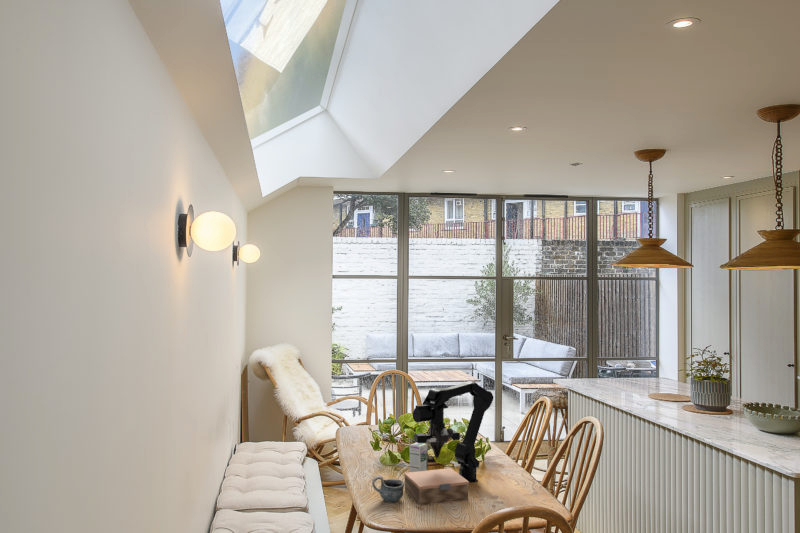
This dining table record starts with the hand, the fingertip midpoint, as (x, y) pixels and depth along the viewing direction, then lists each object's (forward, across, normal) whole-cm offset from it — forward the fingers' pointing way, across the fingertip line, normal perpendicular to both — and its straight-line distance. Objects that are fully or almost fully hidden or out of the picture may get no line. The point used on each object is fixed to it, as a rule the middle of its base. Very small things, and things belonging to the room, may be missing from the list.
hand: (436, 457), depth 254 cm
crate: (+12, -4, -9) cm, 16 cm away
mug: (+12, -24, -10) cm, 29 cm away
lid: (+7, -4, -10) cm, 12 cm away
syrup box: (+12, -3, +14) cm, 19 cm away
